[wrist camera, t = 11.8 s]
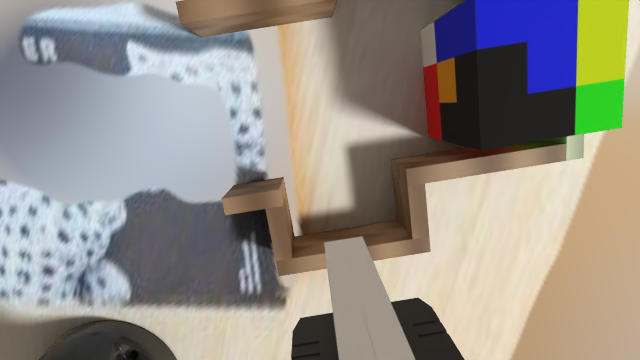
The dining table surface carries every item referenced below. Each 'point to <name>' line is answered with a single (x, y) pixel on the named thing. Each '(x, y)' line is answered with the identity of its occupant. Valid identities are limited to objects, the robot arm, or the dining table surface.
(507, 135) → the puzzle toy
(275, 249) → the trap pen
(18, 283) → the dining table surface
